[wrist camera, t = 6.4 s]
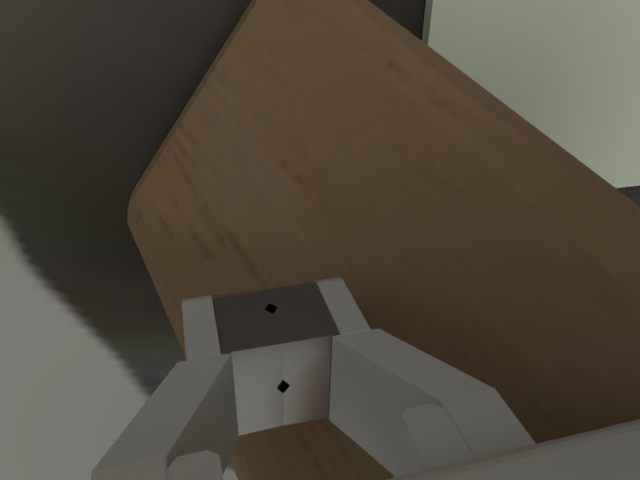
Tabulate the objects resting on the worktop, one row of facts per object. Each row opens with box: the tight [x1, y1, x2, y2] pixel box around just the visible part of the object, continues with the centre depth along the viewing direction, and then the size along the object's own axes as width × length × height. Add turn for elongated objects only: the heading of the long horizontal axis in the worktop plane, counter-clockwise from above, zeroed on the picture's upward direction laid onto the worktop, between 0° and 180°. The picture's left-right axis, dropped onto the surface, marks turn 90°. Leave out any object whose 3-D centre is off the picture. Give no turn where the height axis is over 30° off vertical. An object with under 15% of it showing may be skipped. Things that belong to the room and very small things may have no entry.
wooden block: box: [127, 0, 640, 480], centre depth 14 cm, size 10×10×20 cm
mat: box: [422, 0, 640, 188], centre depth 24 cm, size 18×12×1 cm, turn 89°
